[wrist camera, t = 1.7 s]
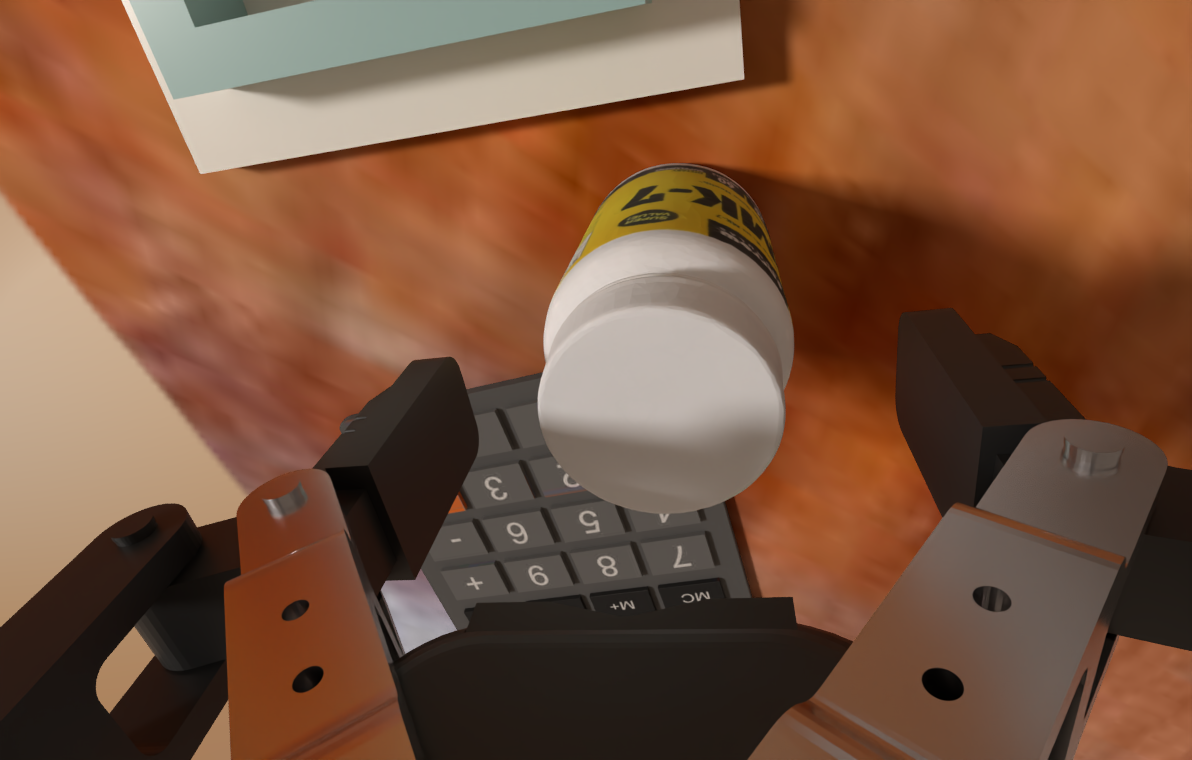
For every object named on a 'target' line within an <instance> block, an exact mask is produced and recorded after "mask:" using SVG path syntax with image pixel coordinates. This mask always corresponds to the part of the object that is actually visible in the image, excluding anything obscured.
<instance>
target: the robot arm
mask: <svg viewBox="0 0 1192 760" xmlns="http://www.w3.org/2000/svg"><path fill="white" fill-rule="evenodd" d="M895 397H896V411H897V417H898V421H899V425H900V428H901V431H902V433H903V435H904V437H905V439H906V441H907V444H908V446H909V448H910V450H911V452H912V454H913V456H914V458H915V460H916V463H917V465H918V467H919V469H920V471H921V473H922V475H923V477H924V479H925V482H926V484H927V486H928V488H929V490H930V492H931V494H932V496H933V499H934V501H935V503H936V505H937V507H938V509H939V511H940V513H941V515H942V520H941V521H940V523H939V524H938V525H937V527H936V528H935V529H934V531H933V532H932V534H931V535H930V536H929V538H928V539H927V541H926V542H925V543H924V545H923V546H922V547H921V549H920V550H919V552H918V553H917V554H916V556H915V557H914V559H913V560H912V561H911V563H910V564H909V565H908V567H907V568H906V570H905V571H904V572H903V574H902V575H901V576H900V578H899V579H898V581H897V582H896V583H895V585H894V586H893V588H892V589H891V590H890V592H889V593H888V594H887V596H886V597H885V599H884V600H883V601H882V603H881V604H880V606H879V607H878V608H877V610H876V611H875V612H874V614H873V615H872V617H871V618H870V619H869V621H868V622H867V624H866V625H865V626H864V628H863V629H862V630H861V632H860V633H859V635H858V636H857V637H856V639H855V640H854V642H853V641H851V640H848V639H846V638H843V637H841V636H839V635H836V634H834V633H831V632H827V631H824V630H821V629H818V628H814V627H811V626H806V625H802V624H797V623H796V616H795V610H794V603H793V597H772V598H716V599H705V600H701V601H696V602H692V603H687V604H683V605H678V606H674V607H669V608H665V609H660V610H656V611H651V612H647V613H643V614H638V615H634V616H615V615H610V614H606V613H601V612H596V611H591V610H587V609H582V608H577V607H572V606H568V605H563V604H558V603H553V602H549V601H548V602H492V603H476V606H475V608H474V611H473V614H472V616H471V619H470V622H469V624H468V627H467V628H464V629H460V630H457V631H454V632H451V633H448V634H445V635H442V636H440V637H438V638H435V639H433V640H431V641H428V642H426V643H424V644H422V645H421V646H419V647H417V648H415V649H413V650H411V651H410V652H408V653H406V654H405V652H404V649H403V646H402V644H401V641H400V638H399V635H398V633H397V630H396V627H395V624H394V622H393V619H392V616H391V614H390V611H389V608H388V605H387V603H386V601H385V598H384V596H383V594H382V592H381V588H382V586H383V585H384V583H385V581H388V580H415V579H416V577H417V575H418V573H419V571H420V569H421V567H422V565H423V563H424V561H425V559H426V557H427V555H428V553H429V551H430V549H431V547H432V545H433V543H434V541H435V539H436V537H437V535H438V533H439V531H440V529H441V527H442V525H443V523H444V521H445V519H446V517H447V515H448V513H449V511H450V509H451V507H452V505H453V503H454V501H455V499H456V497H457V495H458V493H459V491H460V489H461V487H462V485H463V483H464V481H465V479H466V477H467V475H468V473H469V471H470V469H471V467H472V465H473V463H474V461H475V459H476V456H477V453H478V448H479V433H478V427H477V423H476V420H475V416H474V413H473V410H472V407H471V403H470V400H469V397H468V393H467V390H466V387H465V384H464V380H463V377H462V374H461V371H460V368H459V365H458V363H457V362H456V360H455V359H454V358H452V357H442V358H432V359H422V360H414V361H412V362H411V363H410V364H409V365H408V366H407V368H406V369H405V370H404V371H403V373H402V374H401V375H400V376H399V377H398V379H397V380H396V381H395V382H394V384H393V385H392V386H391V387H389V388H388V389H386V390H385V391H383V392H382V393H380V394H379V395H378V396H376V397H375V398H373V399H372V400H370V401H369V402H368V403H367V404H366V405H365V407H364V408H363V409H362V410H361V411H360V413H359V414H358V415H357V416H356V420H353V421H352V422H351V423H350V424H349V426H348V427H347V428H346V429H345V433H343V434H341V435H340V436H339V438H338V439H337V440H336V441H335V442H334V444H333V445H332V446H331V447H330V448H329V449H328V451H327V452H326V453H325V454H324V455H323V457H322V458H321V459H320V460H319V461H318V463H317V464H316V465H315V466H314V467H313V468H312V469H302V470H297V471H293V472H289V473H286V474H283V475H281V476H278V477H276V478H274V479H272V480H270V481H268V482H266V483H264V484H263V485H261V486H260V487H258V488H257V489H255V490H254V491H253V492H251V493H250V494H249V495H248V496H247V497H246V498H245V499H244V500H243V502H242V503H241V505H240V506H239V508H238V511H237V517H235V518H231V519H228V520H224V521H220V522H216V523H213V524H209V525H205V526H201V527H196V525H195V523H194V522H193V520H192V518H191V517H190V515H189V513H188V512H187V510H186V508H185V507H183V506H182V505H179V504H162V505H157V506H153V507H150V508H147V509H144V510H141V511H139V512H136V513H134V514H132V515H130V516H128V517H126V518H124V519H122V520H120V521H118V522H117V523H115V524H114V525H112V526H111V527H109V528H108V529H107V530H105V531H104V532H102V533H101V534H100V535H99V536H98V537H97V538H95V539H94V540H93V541H92V542H91V543H90V544H89V545H88V546H87V547H86V548H85V549H84V550H83V551H82V552H80V553H79V554H78V555H77V556H76V557H75V558H74V559H73V560H72V561H71V562H70V563H69V564H68V565H67V566H66V567H64V568H63V569H62V570H61V571H60V572H59V573H58V574H57V575H56V576H55V577H54V578H53V579H52V580H51V581H49V582H48V583H47V584H46V585H45V586H44V587H43V588H42V589H41V590H40V591H39V592H38V593H37V594H36V595H35V596H34V597H33V598H31V599H30V600H29V601H28V602H27V603H26V604H25V605H24V606H23V607H22V608H21V609H20V610H18V611H17V613H15V614H14V615H13V616H12V617H11V618H10V619H9V620H8V621H7V622H6V623H5V624H3V626H2V627H0V760H191V758H192V757H193V755H194V753H195V752H196V750H197V749H198V747H199V745H200V744H201V742H202V741H203V739H204V737H205V735H206V734H207V732H208V731H209V729H210V728H211V726H212V724H213V723H214V721H215V720H216V718H217V717H218V715H219V713H220V712H221V710H222V709H223V707H224V705H225V704H226V702H227V701H229V724H230V749H231V760H1073V758H1074V755H1075V753H1076V750H1077V747H1078V744H1079V741H1080V739H1081V736H1082V733H1083V731H1084V728H1085V725H1086V723H1087V720H1088V718H1089V715H1090V712H1091V710H1092V707H1093V705H1094V702H1095V699H1096V697H1097V694H1098V692H1099V689H1100V686H1101V684H1102V681H1103V678H1104V676H1105V673H1106V671H1107V668H1108V665H1109V663H1110V660H1111V658H1112V655H1113V652H1114V650H1115V647H1116V644H1117V642H1118V639H1119V636H1125V637H1129V638H1134V639H1139V640H1143V641H1148V642H1152V643H1157V644H1161V645H1166V646H1171V647H1175V648H1180V649H1184V650H1189V651H1192V470H1188V469H1181V468H1176V467H1171V466H1167V465H1168V462H1167V458H1166V456H1165V454H1164V453H1163V451H1162V450H1161V449H1160V448H1159V447H1158V446H1157V445H1156V444H1154V443H1153V442H1152V441H1150V440H1149V439H1147V438H1146V437H1144V436H1142V435H1140V434H1138V433H1136V432H1134V431H1131V430H1129V429H1126V428H1123V427H1120V426H1117V425H1113V424H1109V423H1104V422H1099V421H1092V420H1086V419H1085V418H1084V417H1083V416H1082V415H1081V414H1080V413H1079V412H1078V411H1077V409H1076V408H1075V407H1074V406H1073V405H1072V404H1071V403H1070V402H1069V401H1068V400H1067V399H1066V398H1065V397H1064V396H1063V394H1062V393H1061V392H1060V391H1059V390H1058V389H1057V388H1056V387H1055V386H1054V385H1053V384H1052V383H1051V382H1050V381H1047V380H1046V376H1045V375H1044V374H1043V373H1042V372H1041V371H1040V370H1039V369H1038V368H1037V367H1036V366H1035V367H1034V366H1033V362H1032V361H1031V360H1030V359H1029V358H1028V357H1027V356H1026V355H1025V354H1024V353H1023V352H1022V351H1021V349H1020V348H1019V347H1018V346H1016V345H1014V344H1012V343H1010V342H1007V341H1005V340H1003V339H1001V338H999V337H997V336H995V335H993V334H991V333H987V334H976V335H975V334H974V333H973V332H972V330H971V329H970V328H969V327H968V326H967V324H966V323H965V322H964V321H963V320H962V318H961V317H960V316H959V315H958V314H957V312H956V311H955V310H954V309H953V308H945V309H934V310H924V311H914V312H904V313H902V315H901V317H900V320H899V328H898V348H897V371H896V396H895ZM133 627H135V628H136V629H137V631H138V632H139V634H140V635H141V636H142V638H143V639H144V641H145V642H146V643H147V645H148V646H149V647H150V649H151V650H152V652H153V653H154V654H155V656H154V657H153V659H152V660H151V661H150V662H149V664H148V665H147V666H146V667H145V669H144V670H143V671H142V673H141V674H140V675H139V676H138V678H137V679H136V680H135V682H134V683H133V684H132V686H131V687H130V688H129V689H128V691H127V692H126V693H125V694H124V696H123V697H122V698H121V700H120V701H119V702H118V703H117V705H116V706H115V707H114V709H113V710H112V711H111V712H110V714H109V713H108V712H107V710H106V709H105V708H104V707H103V705H102V704H101V703H100V701H99V700H98V697H97V694H96V679H97V675H98V672H99V670H100V668H101V666H102V664H103V663H104V661H105V660H106V659H107V657H108V656H109V655H110V654H111V653H112V652H113V650H114V649H115V648H116V647H117V645H118V644H119V643H120V642H121V641H122V640H123V639H124V637H125V636H126V635H127V634H128V633H129V632H130V630H131V629H132V628H133Z"/></svg>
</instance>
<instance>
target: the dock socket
mask: <svg viewBox="0 0 1192 760" xmlns="http://www.w3.org/2000/svg"><path fill="white" fill-rule="evenodd" d="M122 2H123V5H124V7H125V9H126V11H127V13H128V16H129V18H130V20H131V22H132V24H133V27H134V29H135V31H136V33H137V35H138V38H139V40H140V42H141V44H142V47H143V49H144V51H145V53H146V55H147V58H148V60H149V62H150V64H151V66H152V69H153V71H154V73H155V75H156V77H157V80H158V82H159V84H160V86H161V88H162V91H163V93H164V95H165V97H166V99H167V102H168V104H169V106H170V108H171V110H172V113H173V115H174V117H175V119H176V121H177V124H178V126H179V128H180V130H181V132H182V135H183V137H184V139H185V141H186V143H187V146H188V148H189V150H190V152H191V154H192V157H193V159H194V161H195V163H196V165H197V168H198V170H199V172H200V174H204V173H210V172H215V171H221V170H227V169H232V168H238V167H244V166H250V165H255V164H261V163H267V162H273V161H278V160H284V159H290V158H296V157H301V156H307V155H313V154H319V153H324V152H330V151H336V150H341V149H347V148H353V147H359V146H364V145H370V144H376V143H382V142H387V141H393V140H399V139H405V138H410V137H416V136H422V135H428V134H433V133H439V132H445V131H450V130H456V129H462V128H468V127H473V126H479V125H485V124H491V123H496V122H502V121H508V120H514V119H519V118H525V117H531V116H537V115H542V114H548V113H554V112H559V111H565V110H571V109H577V108H582V107H588V106H594V105H600V104H605V103H611V102H617V101H623V100H628V99H634V98H640V97H646V96H651V95H657V94H663V93H668V92H674V91H680V90H686V89H691V88H697V87H703V86H709V85H714V84H720V83H726V82H732V81H737V80H743V79H744V65H743V49H742V33H741V17H740V1H739V0H122Z"/></svg>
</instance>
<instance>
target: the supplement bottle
mask: <svg viewBox="0 0 1192 760" xmlns="http://www.w3.org/2000/svg"><path fill="white" fill-rule="evenodd" d="M544 355H545V361H546V365H545V368H544V371H543V374H542V377H541V381H540V386H539V390H538V417H539V422H540V427H541V430H542V434H543V436H544V439H545V442H546V444H547V446H548V448H549V450H550V452H551V453H552V455H553V456H554V458H555V459H556V461H557V462H558V464H559V465H560V466H561V467H562V468H563V470H564V471H565V472H566V473H567V474H568V475H569V476H570V477H571V478H572V479H573V480H575V481H576V482H577V483H578V484H579V485H581V486H582V487H583V488H585V489H586V490H588V491H589V492H591V493H593V494H594V495H596V496H598V497H599V498H601V499H603V500H605V501H608V502H610V503H612V504H615V505H619V506H622V507H625V508H628V509H631V510H636V511H641V512H648V513H658V514H671V513H685V512H691V511H696V510H699V509H703V508H708V507H711V506H714V505H716V504H719V503H722V502H724V501H726V500H728V499H730V498H732V497H734V496H735V495H737V494H739V493H740V492H742V491H743V490H745V489H746V488H747V487H748V486H750V485H751V484H752V483H753V482H754V481H755V480H756V479H757V478H758V477H759V476H760V475H761V474H762V473H763V472H764V470H765V469H766V468H767V466H768V465H769V463H770V462H771V461H772V459H773V457H774V456H775V454H776V452H777V450H778V447H779V445H780V442H781V439H782V435H783V431H784V425H785V397H784V389H785V387H786V384H787V381H788V379H789V376H790V372H791V368H792V363H793V356H794V330H793V324H792V318H791V314H790V310H789V307H788V304H787V300H786V297H785V293H784V290H783V286H782V282H781V279H780V275H779V271H778V267H777V264H776V260H775V256H774V253H773V249H772V245H771V241H770V236H769V232H768V230H767V227H766V224H765V222H764V219H763V217H762V215H761V213H760V211H759V209H758V207H757V205H756V204H755V202H754V201H753V199H752V198H751V197H750V195H749V194H748V193H747V192H746V191H745V190H744V189H743V188H742V187H741V186H740V185H739V184H738V183H736V182H735V181H734V180H732V179H731V178H729V177H728V176H726V175H724V174H723V173H721V172H718V171H716V170H714V169H711V168H708V167H704V166H700V165H694V164H686V163H672V164H662V165H658V166H653V167H650V168H647V169H644V170H642V171H639V172H637V173H635V174H634V175H632V176H630V177H629V178H627V179H626V180H624V181H623V182H621V183H620V184H619V185H618V186H617V187H616V188H615V189H614V190H613V191H612V192H611V193H610V194H609V195H608V196H607V197H606V199H605V200H604V201H603V203H602V204H601V205H600V207H599V209H598V210H597V212H596V214H595V216H594V217H593V219H592V222H591V224H590V226H589V227H588V229H587V231H586V233H585V235H584V237H583V239H582V241H581V243H580V245H579V247H578V249H577V251H576V252H575V254H574V256H573V258H572V260H571V262H570V264H569V266H568V268H567V270H566V272H565V274H564V276H563V278H562V279H561V281H560V283H559V285H558V287H557V289H556V291H555V293H554V295H553V298H552V300H551V303H550V306H549V310H548V313H547V318H546V323H545V329H544Z"/></svg>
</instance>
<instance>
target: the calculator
mask: <svg viewBox="0 0 1192 760" xmlns="http://www.w3.org/2000/svg"><path fill="white" fill-rule="evenodd" d="M542 374H543V373H538V374H534V375H529V376H525V377H520V378H516V379H511V380H507V381H502V382H498V383H493V384H489V385H484V386H480V387H475V388H471V389H466V390H467V393H468V397H469V400H470V403H471V407H472V410H473V413H474V416H475V420H476V423H477V427H478V433H479V448H478V453H477V456H476V459H475V461H474V463H473V465H472V467H471V469H470V471H469V473H468V475H467V477H466V479H465V481H464V483H463V485H462V487H461V489H460V491H459V493H458V495H457V497H456V499H455V501H454V503H453V505H452V507H451V509H450V511H449V513H448V515H447V517H446V519H445V521H444V523H443V525H442V527H441V529H440V531H439V533H438V535H437V537H436V539H435V541H434V543H433V545H432V547H431V549H430V551H429V553H428V555H427V557H426V559H425V561H424V563H423V565H422V567H421V569H422V571H423V573H424V575H425V576H426V578H427V580H428V581H429V583H430V585H431V586H432V588H433V590H434V592H435V593H436V595H437V597H438V598H439V600H440V602H441V603H442V605H443V607H444V608H445V610H446V612H447V614H448V615H449V617H450V619H451V620H452V622H453V624H454V625H455V627H456V629H457V630H460V629H464V628H467V627H468V624H469V622H470V619H471V616H472V614H473V611H474V608H475V606H476V603H492V602H548V601H549V602H553V603H558V604H563V605H568V606H572V607H577V608H582V609H587V610H591V611H596V612H601V613H606V614H610V615H615V616H634V615H638V614H643V613H647V612H651V611H656V610H660V609H665V608H669V607H674V606H678V605H683V604H687V603H692V602H696V601H701V600H705V599H716V598H752V594H751V591H750V587H749V584H748V580H747V577H746V574H745V570H744V567H743V563H742V560H741V556H740V553H739V549H738V546H737V542H736V539H735V535H734V532H733V528H732V525H731V521H730V518H729V515H728V511H727V508H726V504H725V501H724V502H722V503H719V504H716V505H714V506H711V507H708V508H703V509H699V510H696V511H691V512H685V513H671V514H658V513H648V512H641V511H636V510H631V509H628V508H625V507H622V506H619V505H615V504H612V503H610V502H608V501H605V500H603V499H601V498H599V497H598V496H596V495H594V494H593V493H591V492H589V491H588V490H586V489H585V488H583V487H582V486H581V485H579V484H578V483H577V482H576V481H575V480H573V479H572V478H571V477H570V476H569V475H568V474H567V473H566V472H565V471H564V470H563V468H562V467H561V466H560V465H559V464H558V462H557V461H556V459H555V458H554V456H553V455H552V453H551V452H550V450H549V448H548V446H547V444H546V442H545V439H544V436H543V434H542V430H541V427H540V422H539V417H538V390H539V386H540V381H541V377H542ZM357 415H358V414H354V415H351V416H349V417H347V418H345V419H344V421H343V422H342V423H341V425H340V431H341V433H342V434H343V433H345V429H346V428H347V427H348V426H349V424H350V423H351V422H352V421H353V420H356V416H357Z"/></svg>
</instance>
